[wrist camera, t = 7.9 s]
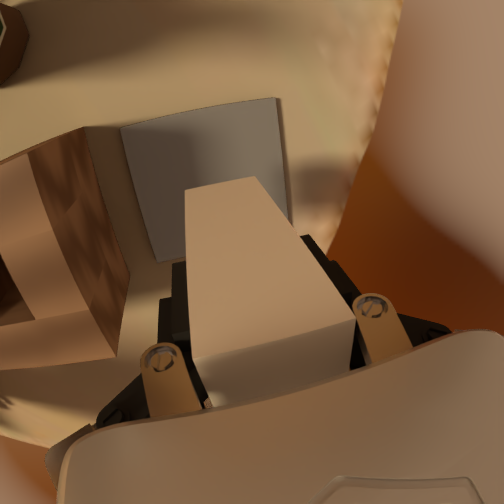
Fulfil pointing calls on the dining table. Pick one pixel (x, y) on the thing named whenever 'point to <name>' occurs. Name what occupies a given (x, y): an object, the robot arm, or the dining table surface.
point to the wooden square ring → (57, 259)
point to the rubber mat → (200, 162)
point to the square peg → (258, 297)
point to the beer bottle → (11, 40)
